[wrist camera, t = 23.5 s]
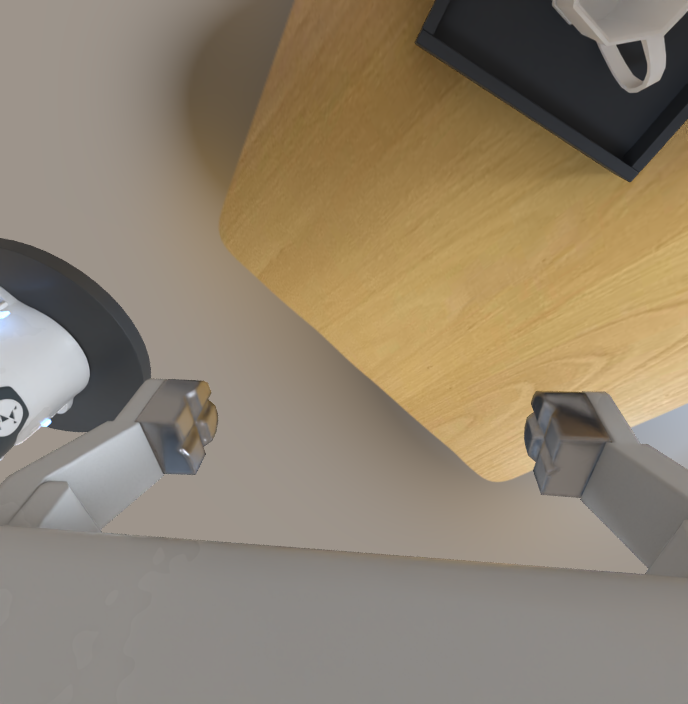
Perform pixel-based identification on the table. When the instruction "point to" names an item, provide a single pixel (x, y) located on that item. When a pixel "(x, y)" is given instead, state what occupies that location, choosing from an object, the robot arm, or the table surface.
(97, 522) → the robot arm
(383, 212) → the table surface
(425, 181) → the table surface
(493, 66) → the tray
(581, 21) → the cup
